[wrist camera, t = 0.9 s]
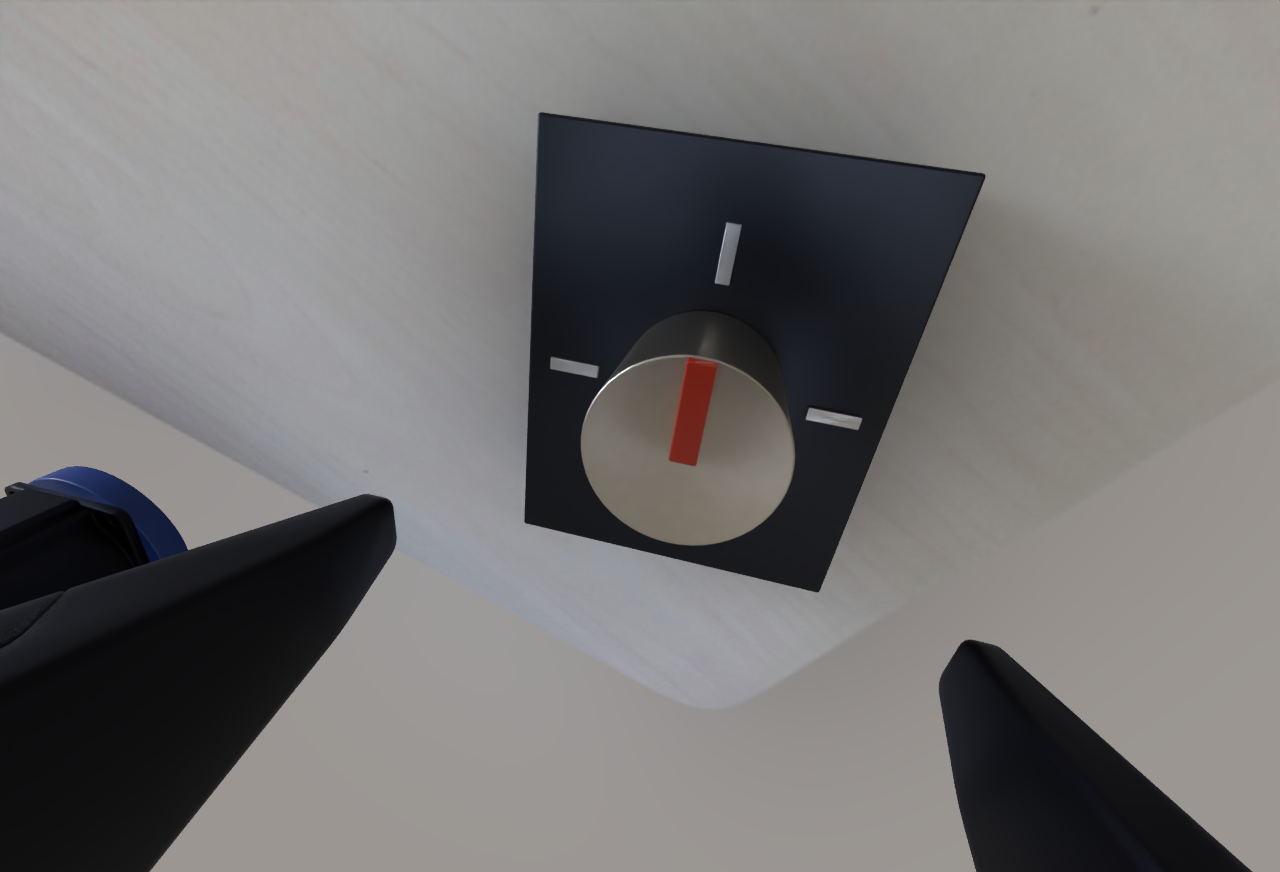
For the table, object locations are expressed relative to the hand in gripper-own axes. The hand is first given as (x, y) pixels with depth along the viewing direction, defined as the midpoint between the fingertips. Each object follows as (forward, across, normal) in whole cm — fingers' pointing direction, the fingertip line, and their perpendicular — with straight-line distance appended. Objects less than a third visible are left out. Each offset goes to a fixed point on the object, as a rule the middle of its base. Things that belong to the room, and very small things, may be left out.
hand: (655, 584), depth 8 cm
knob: (+7, 0, -1) cm, 7 cm away
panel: (+10, 0, -1) cm, 10 cm away
